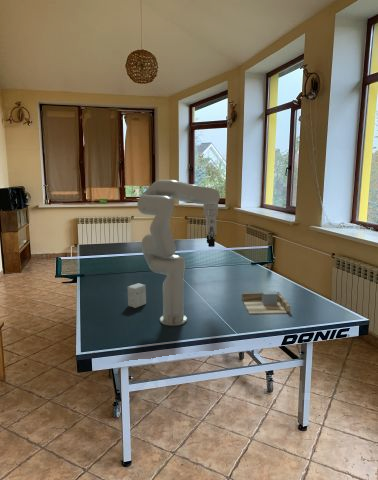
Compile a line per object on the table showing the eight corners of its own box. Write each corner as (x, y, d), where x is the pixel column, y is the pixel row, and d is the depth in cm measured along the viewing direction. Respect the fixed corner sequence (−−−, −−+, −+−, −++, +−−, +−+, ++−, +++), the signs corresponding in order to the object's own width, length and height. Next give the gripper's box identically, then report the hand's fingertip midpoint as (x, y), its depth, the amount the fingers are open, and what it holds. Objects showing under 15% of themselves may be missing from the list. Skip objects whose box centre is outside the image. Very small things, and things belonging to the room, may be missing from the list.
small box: (139, 301, 201) (138, 282, 199) (146, 303, 198) (145, 284, 196) (127, 305, 195) (127, 286, 193) (135, 308, 192) (134, 288, 190)
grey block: (263, 305, 193) (264, 294, 192) (261, 302, 197) (262, 291, 196) (277, 305, 193) (277, 294, 192) (274, 302, 197) (275, 291, 196)
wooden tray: (289, 313, 184) (290, 305, 183) (249, 314, 183) (249, 306, 182) (278, 299, 203) (278, 292, 203) (242, 300, 203) (242, 292, 202)
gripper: (219, 214, 187) (219, 248, 190) (216, 210, 204) (215, 241, 207) (204, 214, 186) (204, 248, 190) (202, 210, 203) (202, 241, 207)
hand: (210, 244), depth 198 cm, fingers open, 9 cm apart
